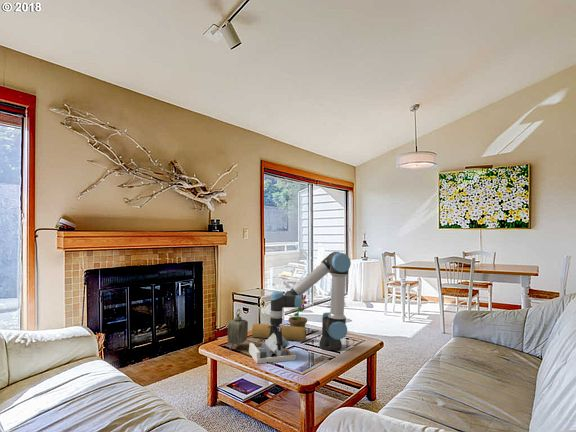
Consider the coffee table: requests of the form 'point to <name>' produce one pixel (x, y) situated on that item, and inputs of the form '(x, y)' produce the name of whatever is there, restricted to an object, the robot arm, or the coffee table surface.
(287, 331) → the log
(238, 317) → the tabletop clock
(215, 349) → the coffee table surface
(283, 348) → the light bulb box
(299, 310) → the flowerpot
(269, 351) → the pusher
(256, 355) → the open rectangular frame
